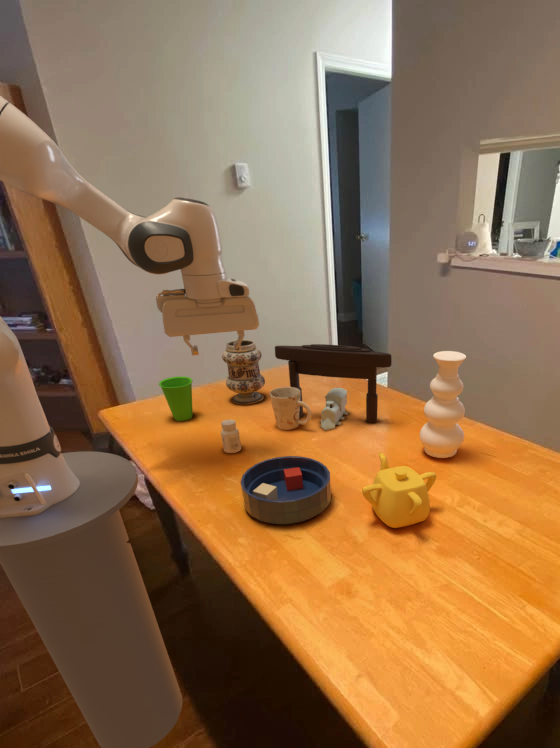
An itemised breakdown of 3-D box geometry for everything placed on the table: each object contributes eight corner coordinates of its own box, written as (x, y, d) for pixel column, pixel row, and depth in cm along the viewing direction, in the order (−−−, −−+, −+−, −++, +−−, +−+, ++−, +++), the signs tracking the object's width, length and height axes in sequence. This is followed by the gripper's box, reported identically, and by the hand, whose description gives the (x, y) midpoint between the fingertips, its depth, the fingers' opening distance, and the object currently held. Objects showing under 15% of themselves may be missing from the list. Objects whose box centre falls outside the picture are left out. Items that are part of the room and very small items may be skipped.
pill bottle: (244, 446, 119) (240, 419, 115) (236, 454, 116) (232, 426, 112) (228, 445, 120) (224, 417, 116) (220, 452, 117) (215, 424, 113)
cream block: (254, 505, 95) (252, 491, 93) (264, 496, 98) (262, 482, 96) (268, 509, 94) (266, 495, 92) (278, 500, 97) (276, 486, 95)
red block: (287, 490, 100) (285, 477, 98) (284, 482, 103) (283, 469, 101) (303, 488, 101) (302, 474, 99) (300, 480, 104) (299, 467, 102)
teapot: (352, 521, 92) (351, 477, 86) (378, 490, 102) (379, 448, 96) (417, 540, 87) (421, 495, 81) (438, 505, 96) (443, 462, 91)
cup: (160, 419, 134) (151, 383, 129) (186, 409, 141) (179, 374, 135) (180, 426, 130) (171, 389, 124) (206, 415, 136) (199, 380, 131)
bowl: (252, 535, 88) (248, 510, 85) (239, 487, 103) (235, 464, 99) (342, 516, 93) (341, 491, 90) (317, 472, 108) (316, 450, 105)
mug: (284, 417, 135) (281, 384, 130) (321, 425, 131) (319, 391, 125) (267, 428, 129) (263, 394, 124) (305, 437, 124) (303, 402, 119)
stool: (385, 359, 113) (261, 350, 120) (383, 437, 124) (270, 424, 131) (397, 343, 126) (284, 335, 133) (394, 414, 137) (290, 404, 144)
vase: (430, 466, 111) (439, 363, 98) (411, 446, 119) (417, 350, 106) (470, 458, 114) (484, 358, 101) (449, 440, 122) (459, 345, 109)
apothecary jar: (268, 391, 153) (262, 337, 144) (264, 405, 143) (257, 347, 133) (232, 392, 153) (223, 337, 143) (225, 406, 142) (215, 348, 133)
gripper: (153, 293, 92) (168, 361, 99) (256, 286, 98) (263, 351, 105) (153, 288, 97) (168, 353, 104) (251, 282, 103) (258, 344, 110)
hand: (217, 352), depth 105 cm, fingers open, 8 cm apart
